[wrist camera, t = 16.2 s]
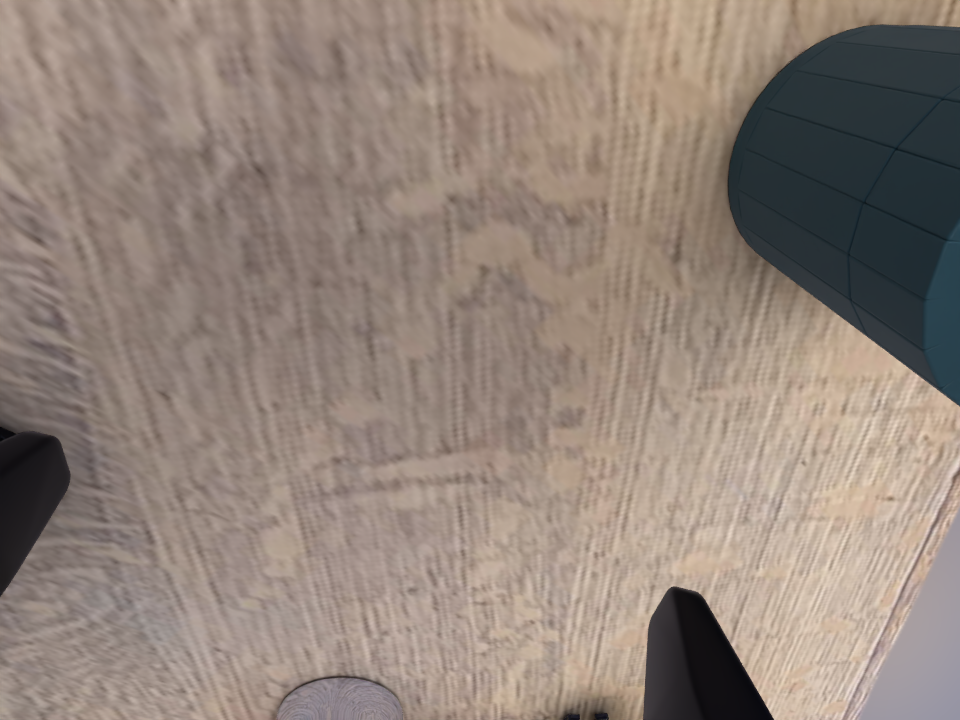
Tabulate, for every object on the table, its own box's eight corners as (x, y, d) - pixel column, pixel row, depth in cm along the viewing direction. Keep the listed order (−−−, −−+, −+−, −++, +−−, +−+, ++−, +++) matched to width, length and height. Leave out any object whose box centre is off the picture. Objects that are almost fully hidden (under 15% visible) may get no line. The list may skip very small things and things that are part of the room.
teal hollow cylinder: (919, 266, 22) (1197, 414, 14) (709, 275, 21) (876, 434, 14) (1004, 22, 18) (1442, 39, 10) (753, 26, 18) (1016, 48, 10)
